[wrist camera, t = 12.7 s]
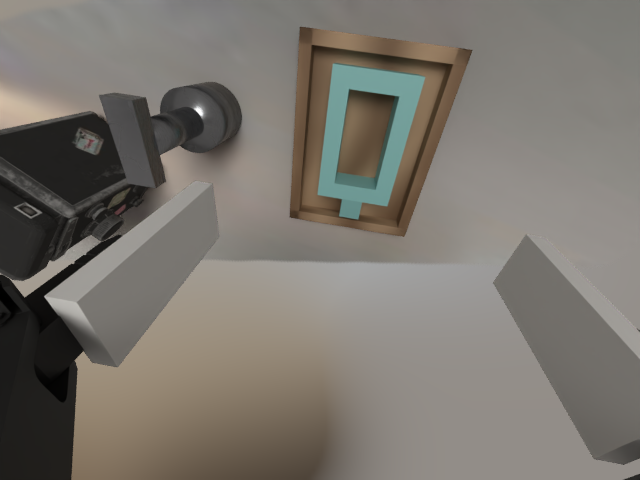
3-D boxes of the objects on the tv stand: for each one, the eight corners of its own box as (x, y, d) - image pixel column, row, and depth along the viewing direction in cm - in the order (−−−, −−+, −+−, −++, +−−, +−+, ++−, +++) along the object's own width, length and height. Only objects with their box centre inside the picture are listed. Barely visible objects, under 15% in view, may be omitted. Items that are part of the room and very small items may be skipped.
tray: (293, 208, 32) (289, 217, 30) (305, 28, 22) (299, 26, 20) (402, 226, 31) (404, 236, 30) (463, 50, 21) (472, 50, 20)
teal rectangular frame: (336, 62, 23) (332, 63, 20) (418, 74, 22) (425, 77, 20) (319, 199, 30) (315, 212, 28) (380, 209, 30) (382, 223, 27)
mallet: (196, 136, 29) (106, 179, 19) (186, 76, 25) (72, 91, 15) (243, 143, 28) (177, 191, 18) (239, 84, 25) (158, 104, 15)
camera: (66, 165, 33) (-108, 230, 21) (90, 98, 28) (-123, 134, 16) (143, 220, 36) (31, 304, 24) (177, 170, 31) (57, 244, 19)
